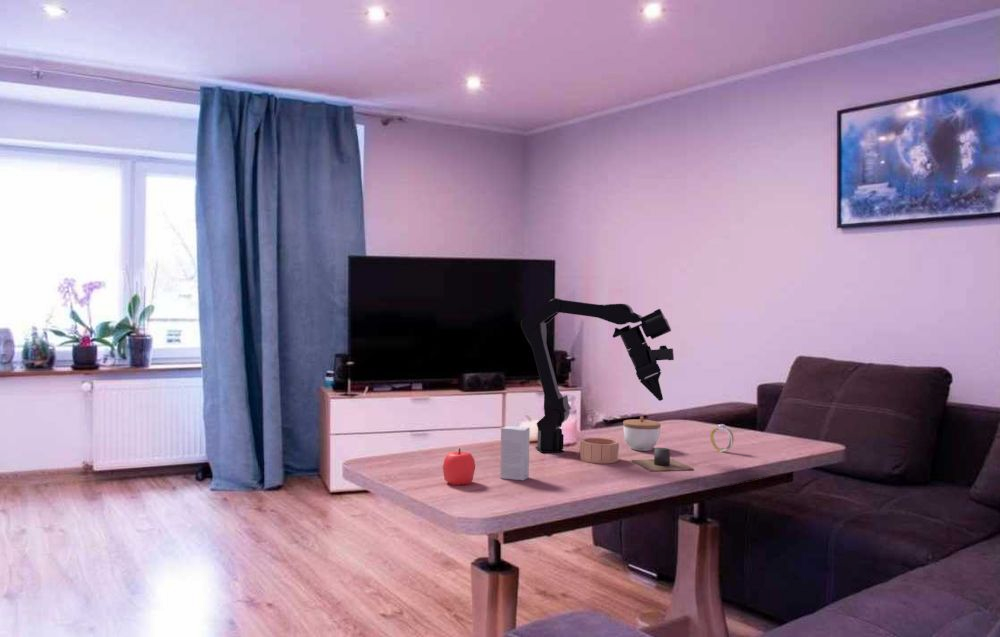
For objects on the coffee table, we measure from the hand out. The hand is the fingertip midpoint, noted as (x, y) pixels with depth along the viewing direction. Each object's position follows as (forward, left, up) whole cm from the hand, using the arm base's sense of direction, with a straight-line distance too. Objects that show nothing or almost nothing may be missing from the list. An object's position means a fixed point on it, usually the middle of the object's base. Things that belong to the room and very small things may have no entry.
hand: (660, 399), depth 200 cm
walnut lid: (-2, -7, -17) cm, 19 cm away
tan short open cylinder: (-16, +3, -17) cm, 23 cm away
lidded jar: (+2, +16, -17) cm, 23 cm away
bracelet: (+24, +9, -17) cm, 30 cm away
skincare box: (-44, -15, -17) cm, 50 cm away
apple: (-58, -17, -17) cm, 63 cm away
